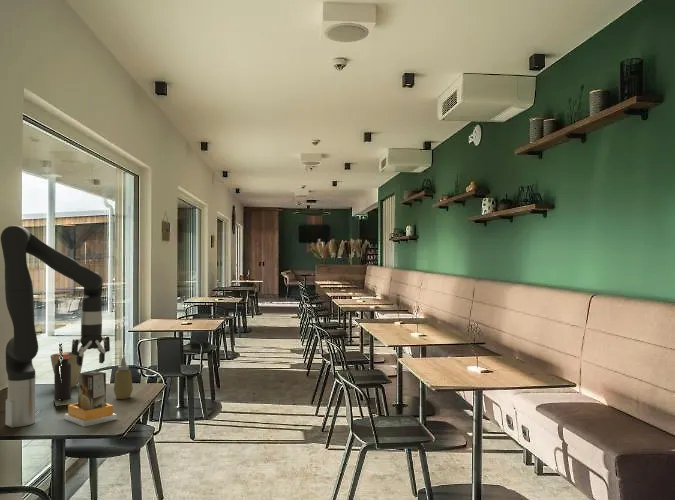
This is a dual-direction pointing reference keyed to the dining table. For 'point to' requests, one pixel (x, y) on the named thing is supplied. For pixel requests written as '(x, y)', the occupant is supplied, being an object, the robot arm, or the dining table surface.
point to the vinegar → (62, 388)
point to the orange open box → (90, 415)
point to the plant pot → (74, 366)
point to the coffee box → (91, 390)
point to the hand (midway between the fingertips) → (90, 364)
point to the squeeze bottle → (123, 381)
